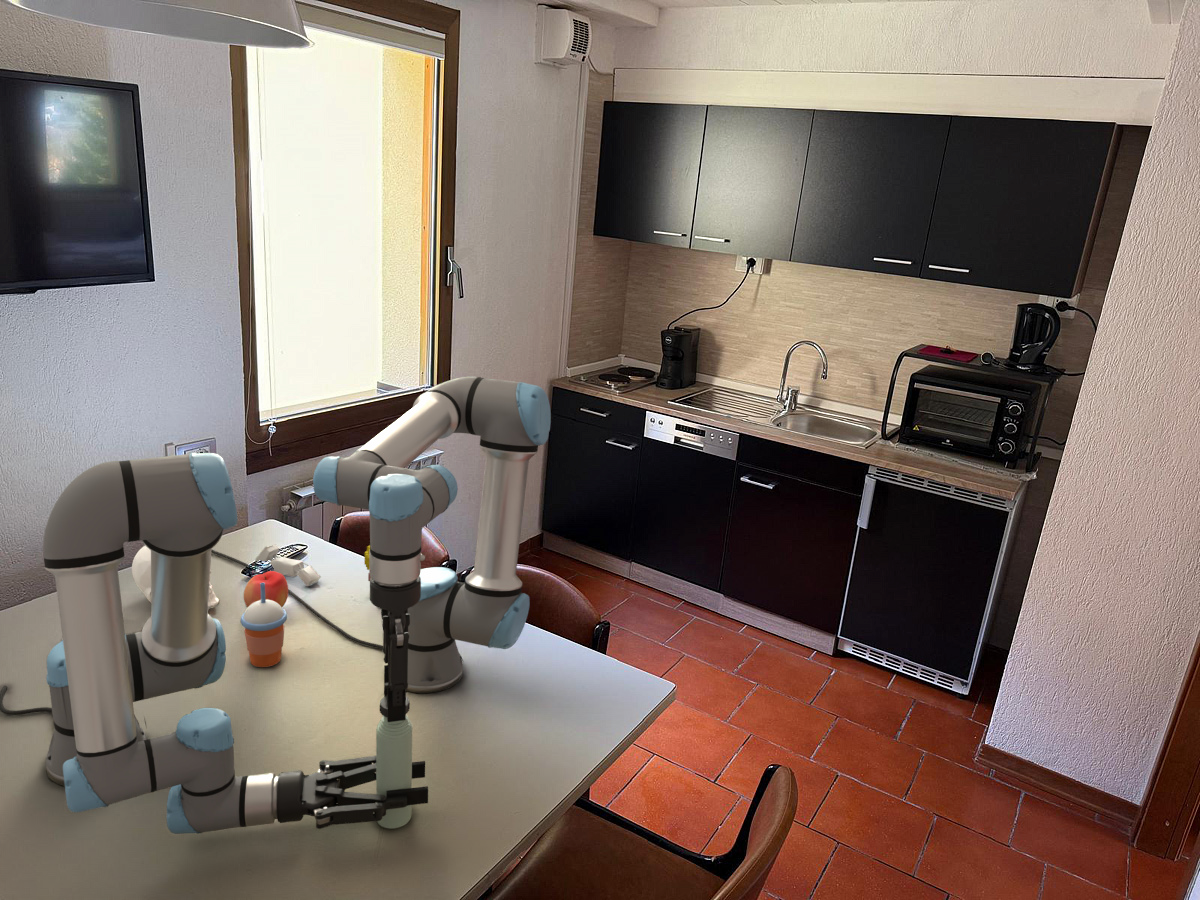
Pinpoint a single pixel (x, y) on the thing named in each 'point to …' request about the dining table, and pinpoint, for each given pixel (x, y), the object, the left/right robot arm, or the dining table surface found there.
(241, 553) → the dining table surface
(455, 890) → the dining table surface
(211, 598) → the skull
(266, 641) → the cup with straw
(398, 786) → the bottle
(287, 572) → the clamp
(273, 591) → the apple
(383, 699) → the cap
